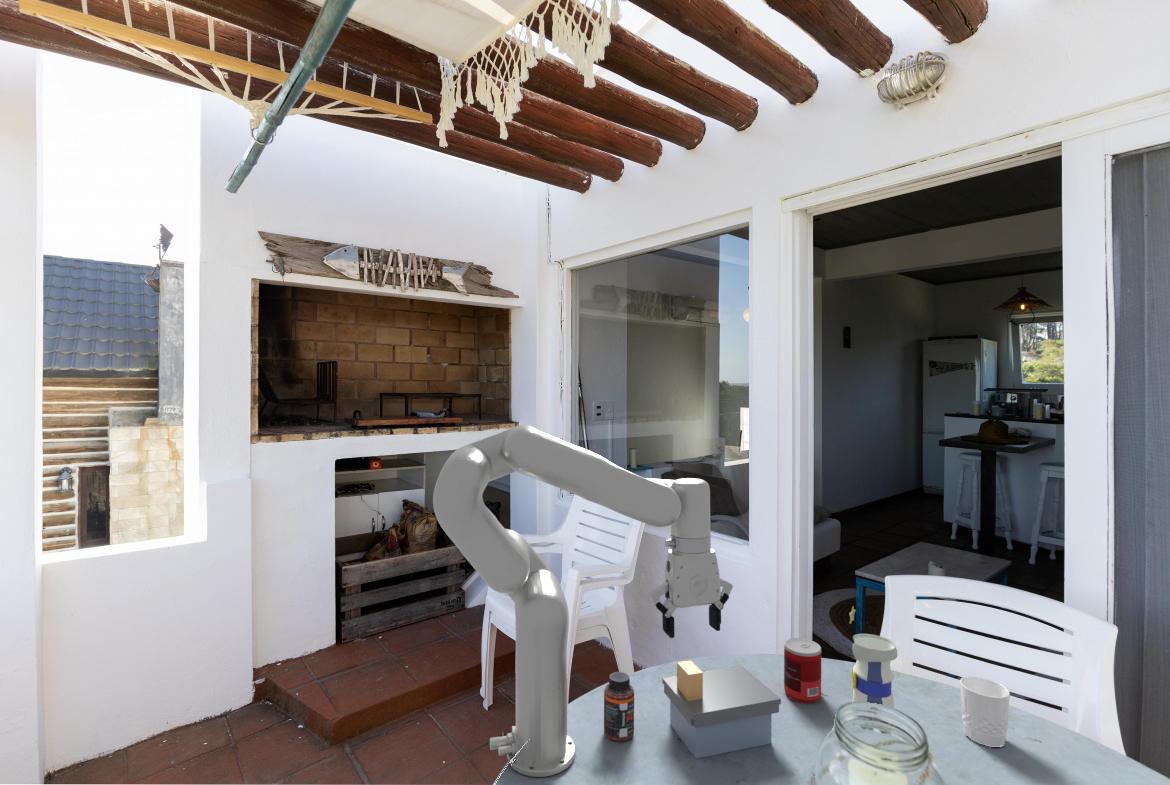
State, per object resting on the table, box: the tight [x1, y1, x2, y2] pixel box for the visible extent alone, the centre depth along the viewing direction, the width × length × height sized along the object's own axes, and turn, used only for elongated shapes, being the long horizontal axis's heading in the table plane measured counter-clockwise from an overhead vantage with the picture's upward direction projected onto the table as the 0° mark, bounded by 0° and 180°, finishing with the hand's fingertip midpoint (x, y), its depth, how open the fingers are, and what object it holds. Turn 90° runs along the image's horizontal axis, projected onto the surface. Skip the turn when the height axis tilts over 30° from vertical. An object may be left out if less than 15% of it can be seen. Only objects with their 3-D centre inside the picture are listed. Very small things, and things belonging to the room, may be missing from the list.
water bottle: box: [849, 606, 898, 709], centre depth 108 cm, size 8×9×25 cm
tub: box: [669, 699, 772, 760], centre depth 111 cm, size 16×11×8 cm
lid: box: [661, 660, 782, 728], centre depth 111 cm, size 18×13×8 cm
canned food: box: [783, 637, 822, 704], centre depth 125 cm, size 8×8×11 cm
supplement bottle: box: [603, 671, 635, 742], centre depth 111 cm, size 6×6×11 cm
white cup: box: [959, 675, 1011, 746], centre depth 110 cm, size 8×8×10 cm
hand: (692, 631), depth 109 cm, fingers open, 9 cm apart
